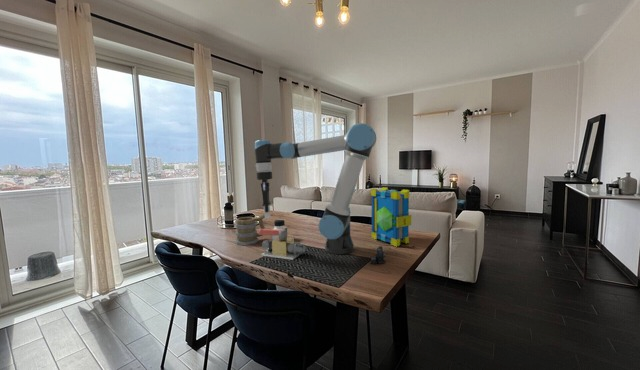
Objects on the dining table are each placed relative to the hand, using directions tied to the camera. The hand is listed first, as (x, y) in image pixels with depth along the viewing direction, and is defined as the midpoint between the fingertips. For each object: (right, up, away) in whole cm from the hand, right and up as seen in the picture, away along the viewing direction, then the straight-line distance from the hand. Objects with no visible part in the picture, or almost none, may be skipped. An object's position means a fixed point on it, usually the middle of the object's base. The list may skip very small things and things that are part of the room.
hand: (267, 218), depth 137 cm
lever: (+2, -11, +2) cm, 11 cm away
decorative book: (+66, -16, +18) cm, 70 cm away
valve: (+8, -18, +2) cm, 20 cm away
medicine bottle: (+2, -16, +27) cm, 31 cm away
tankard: (-14, -17, +25) cm, 33 cm away
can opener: (+55, -19, -9) cm, 58 cm away
